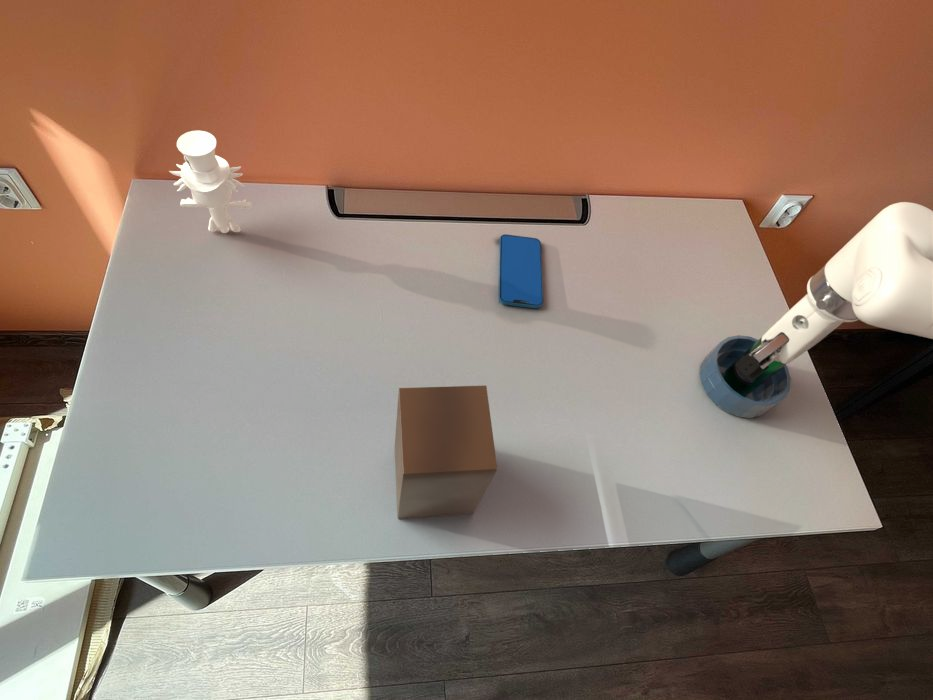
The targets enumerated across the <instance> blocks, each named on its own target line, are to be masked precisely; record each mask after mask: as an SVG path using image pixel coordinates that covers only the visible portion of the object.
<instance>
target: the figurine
mask: <svg viewBox="0 0 933 700" xmlns="http://www.w3.org/2000/svg"><path fill="white" fill-rule="evenodd" d="M176 148H177V150H178V151H179V152H180V154H182V156H183V160H184V162H183V163H182V164H179V163H176V164H175V165H176V167H177V168H179V169H180V170H175V171H174V170H168V172H169V173H170V174H171V175H173V176H176V177H180V178H179V179H178V180H177V181H175V182H174V183H173V186H174V187H179V188H178V189H177V190H176V192H178V193H179V192H182V191H183V190H185V189H186V188H189V189H190V193H191V197H192V198H190V197H187V198H186V199H184V198H181V200H180V202H179V206H180V207H181V208H189V209H193V208H207V209H208V211H209V214H210V218H209V221H208V228H207V229H208V231H209V232H212V233H214V232H217V231H218V230H220V232H221V233H222V234H228V233H229V231H230V230H231V231H232V232H234V233H239V232H241V230H242V229H241V228H240V226H239V224H238V223H237V222H236V221H235V220H234V219H233V217H231V216H230V213H229V209H236V210H251V209H252V206H253V205H252V201H248V200H247V199H246V198H245V199H242V200H233V201H231V200H232V196H233V192H234V193H235V194H240V193H239V191H238V190H237V189H236V188H237V186H238V187H241V188H244V187H246V185H245V184H244V183H242V182H241V181H240V180H237V179H236V178H240V177H241V176H242V177H243V175H244V173H242V172H240V173H239V172H237V171H240V170H241V169H242V166H241V165H240V166H232V167H231V166H230V164H229V162H228V161H227V160H226V159H225V158H223V157H221V156H219V155H216V148H217V139H216V137H215V135H213V134H212V133H211V132H208V131H205V130H199V129H198V130H197V129H196V130H190V131H187V132H185V133H183V134H181V135H180V136H179V137H178V138H177V141H176ZM228 208H229V209H228Z"/></svg>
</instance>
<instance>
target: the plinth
mask: <svg viewBox="0 0 933 700" xmlns="http://www.w3.org/2000/svg"><path fill="white" fill-rule="evenodd" d="M487 388H488V386H487V385H455V386H425V387H422V386H421V387H398V393H397V394H398V395H397V410H396V420H395V433H394V434H395V435H394V465H395V467H394V468H395V486H396V487H395V490H396V493H395V494H396V514H397V515H396V517H397V520H402V519H418V518H432V517H433V518H434V517H446V516H461V515H473V514H474V513H475V511H476V510H477V507H478V506H479V503H480V502H481V500H482V498H483V497H484V495H485V492H486V491H487V489H488V487H489V486H490V484H491V482H492V480H493V478H494V476H495V474H496V473H497V471H498V463H497V462H498V461H497V455H496V448H495V440H494V434H493V425H492V417H491V411H490V402H489V396H488V389H487Z"/></svg>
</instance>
